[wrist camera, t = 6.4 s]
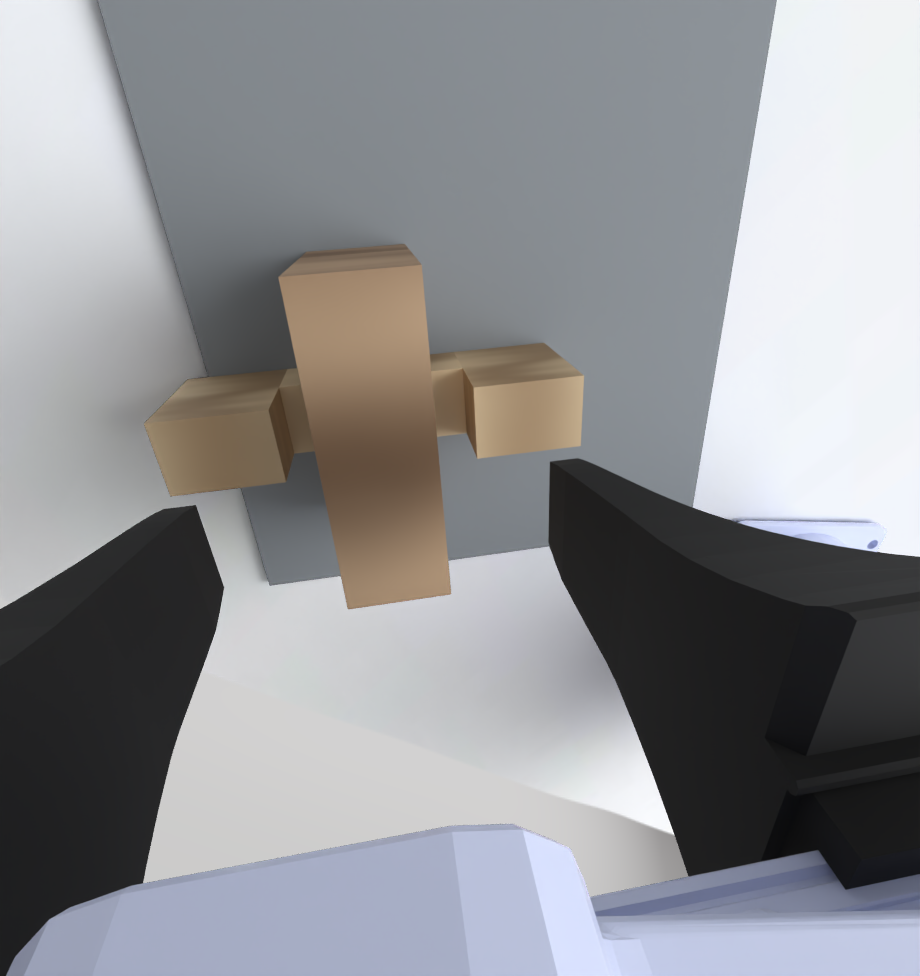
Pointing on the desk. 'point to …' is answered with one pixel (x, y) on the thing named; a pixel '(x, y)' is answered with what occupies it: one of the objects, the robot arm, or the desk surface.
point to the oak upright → (285, 427)
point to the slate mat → (462, 208)
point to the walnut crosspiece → (371, 417)
